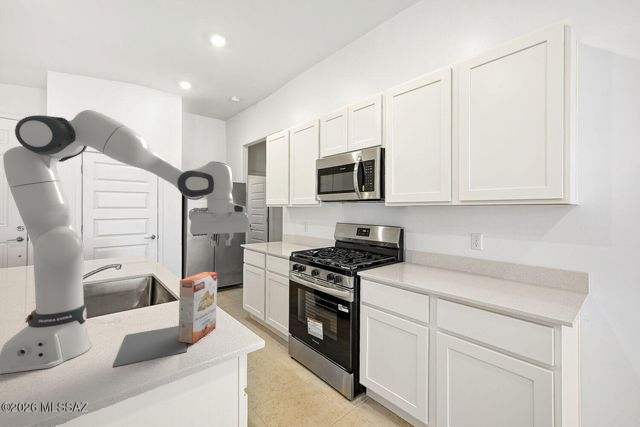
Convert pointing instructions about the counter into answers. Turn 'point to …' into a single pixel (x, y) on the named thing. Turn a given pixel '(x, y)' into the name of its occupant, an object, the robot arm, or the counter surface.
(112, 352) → the counter surface
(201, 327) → the cracker box
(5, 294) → the counter surface
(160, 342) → the mat
